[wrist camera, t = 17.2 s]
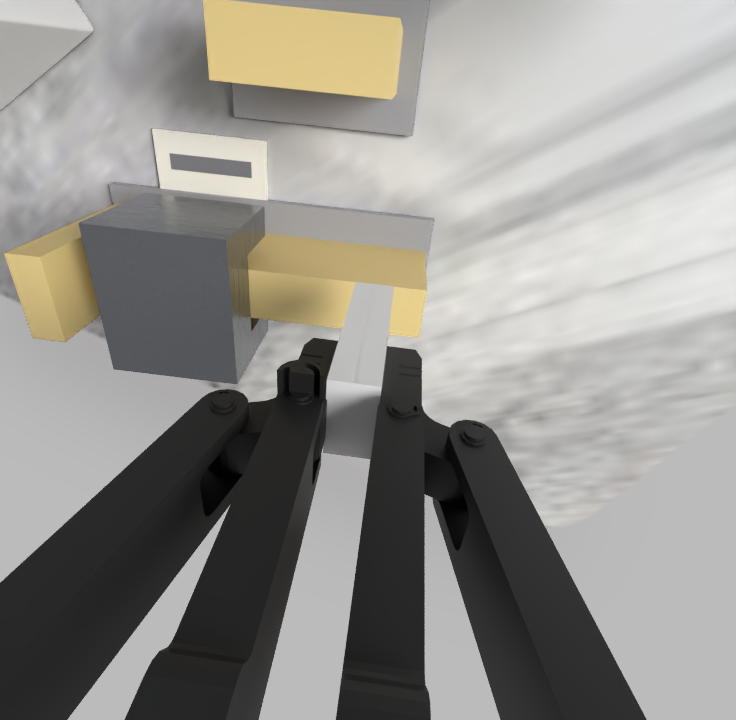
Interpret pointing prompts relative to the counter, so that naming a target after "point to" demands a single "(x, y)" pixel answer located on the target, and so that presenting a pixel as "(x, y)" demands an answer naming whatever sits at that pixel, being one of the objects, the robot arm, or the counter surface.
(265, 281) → the rail
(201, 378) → the grey block
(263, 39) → the stub
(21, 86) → the milk carton
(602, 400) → the counter surface
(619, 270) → the counter surface
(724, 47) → the counter surface
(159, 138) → the label
